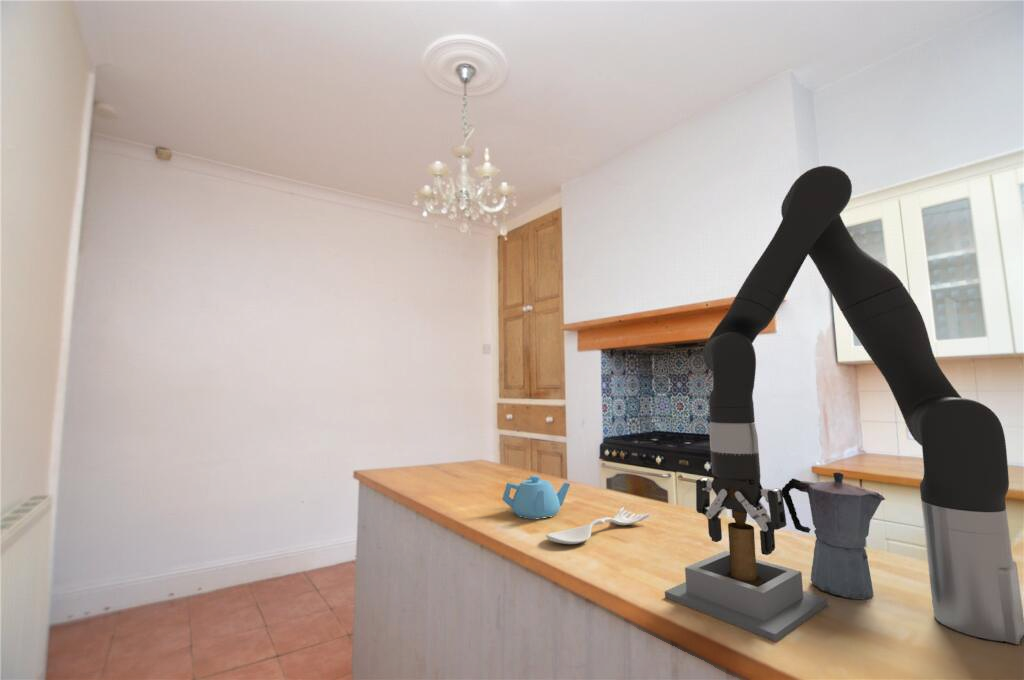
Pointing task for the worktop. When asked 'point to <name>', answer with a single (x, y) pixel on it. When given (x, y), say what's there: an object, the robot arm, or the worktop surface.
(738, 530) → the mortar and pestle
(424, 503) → the worktop surface
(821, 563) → the moka pot
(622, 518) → the white spork utensil
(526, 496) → the teapot
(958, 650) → the worktop surface
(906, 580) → the worktop surface
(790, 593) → the socket board
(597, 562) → the worktop surface
